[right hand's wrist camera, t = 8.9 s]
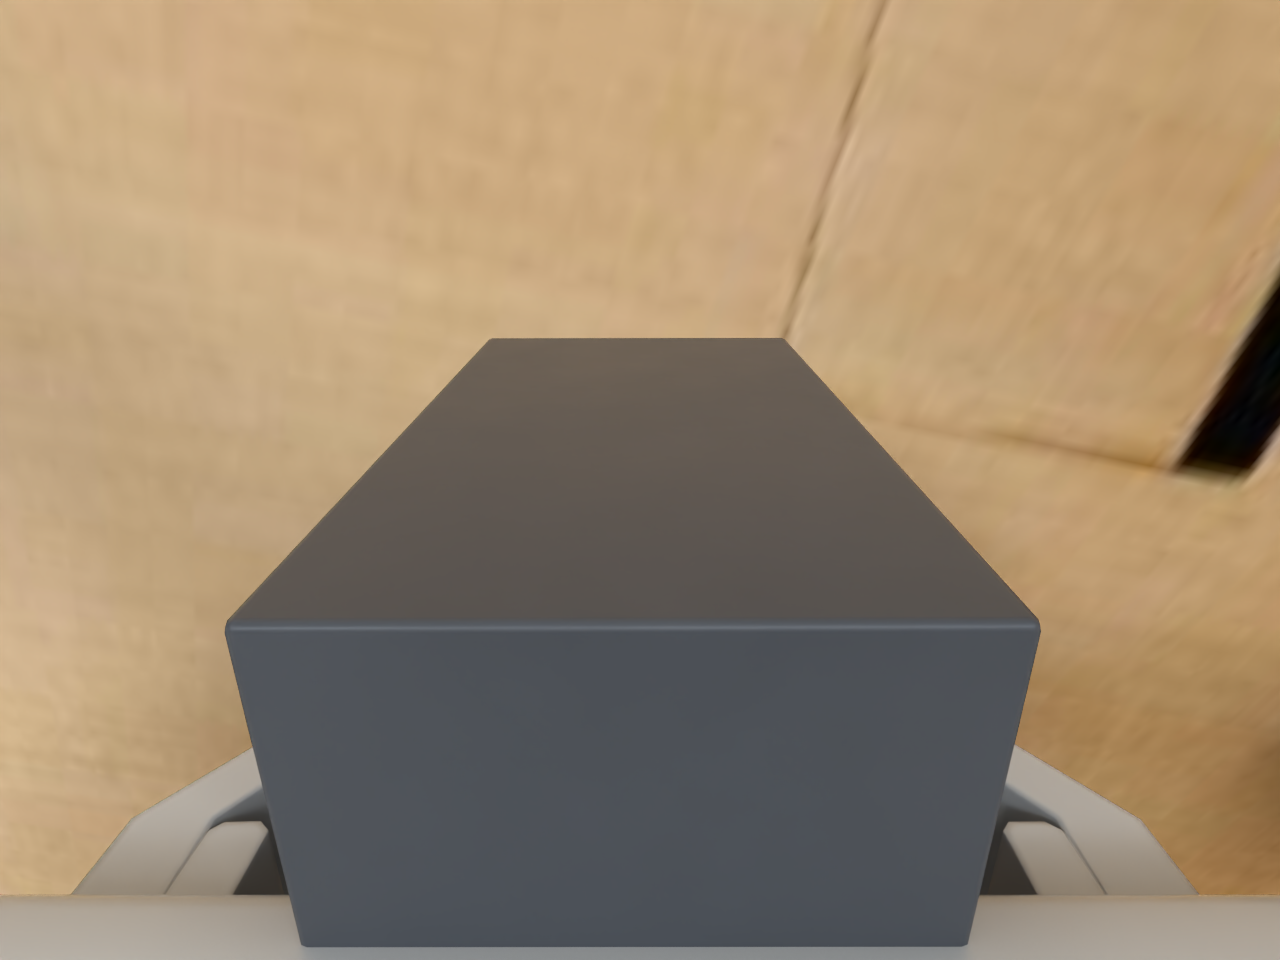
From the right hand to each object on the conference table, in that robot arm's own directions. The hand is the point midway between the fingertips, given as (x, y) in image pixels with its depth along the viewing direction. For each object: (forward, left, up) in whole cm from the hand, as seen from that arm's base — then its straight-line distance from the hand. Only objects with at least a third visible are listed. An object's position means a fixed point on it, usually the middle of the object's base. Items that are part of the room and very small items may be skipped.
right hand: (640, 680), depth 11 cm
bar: (+2, +8, -3) cm, 9 cm away
